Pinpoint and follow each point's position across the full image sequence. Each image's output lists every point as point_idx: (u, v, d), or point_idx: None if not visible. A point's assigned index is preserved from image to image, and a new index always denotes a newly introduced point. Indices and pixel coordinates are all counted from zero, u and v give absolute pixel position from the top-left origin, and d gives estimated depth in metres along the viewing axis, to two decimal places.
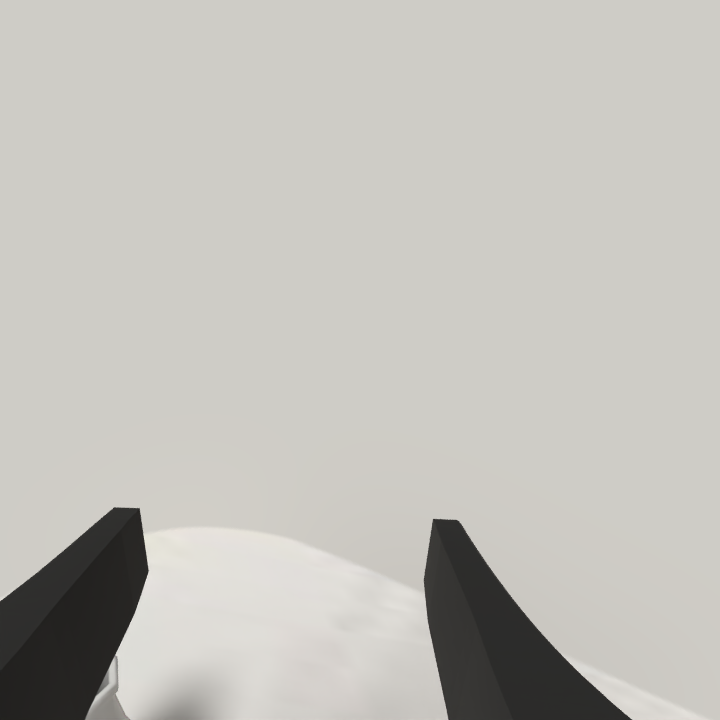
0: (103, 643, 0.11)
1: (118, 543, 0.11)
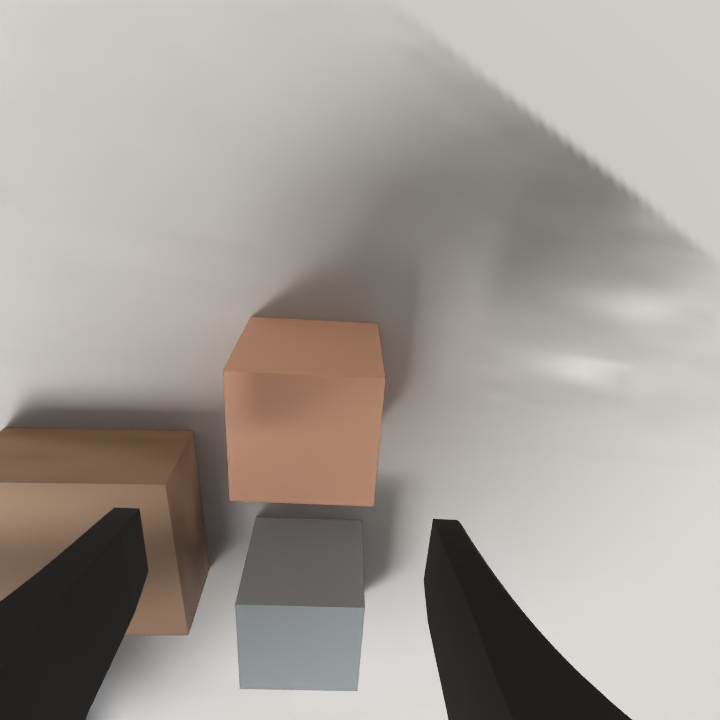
0: (103, 643, 0.11)
1: (118, 543, 0.11)
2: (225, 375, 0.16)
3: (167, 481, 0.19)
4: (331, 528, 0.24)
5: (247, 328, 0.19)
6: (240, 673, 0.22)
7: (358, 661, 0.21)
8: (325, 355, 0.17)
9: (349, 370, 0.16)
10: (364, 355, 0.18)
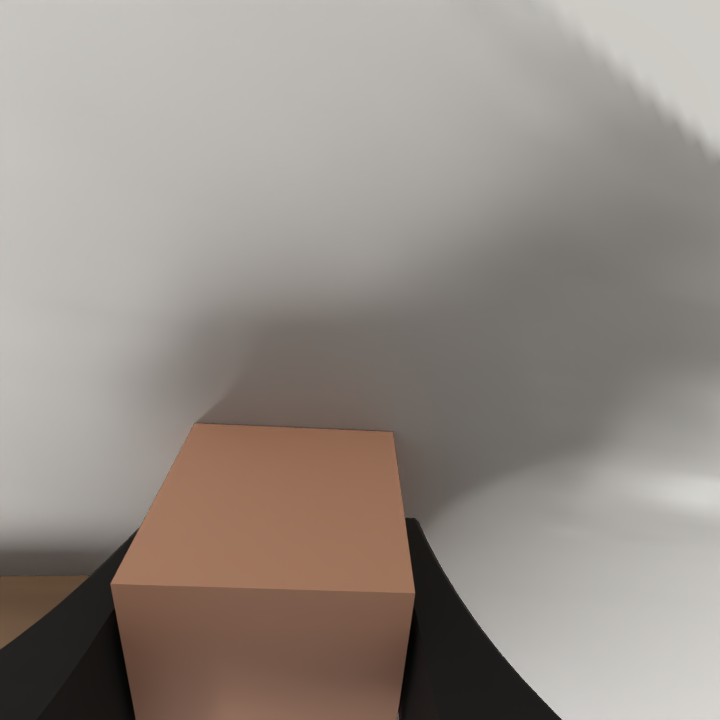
0: None
1: None
2: (116, 590, 0.09)
3: None
4: None
5: (182, 455, 0.12)
6: None
7: None
8: (306, 524, 0.10)
9: (348, 568, 0.09)
10: (374, 520, 0.10)
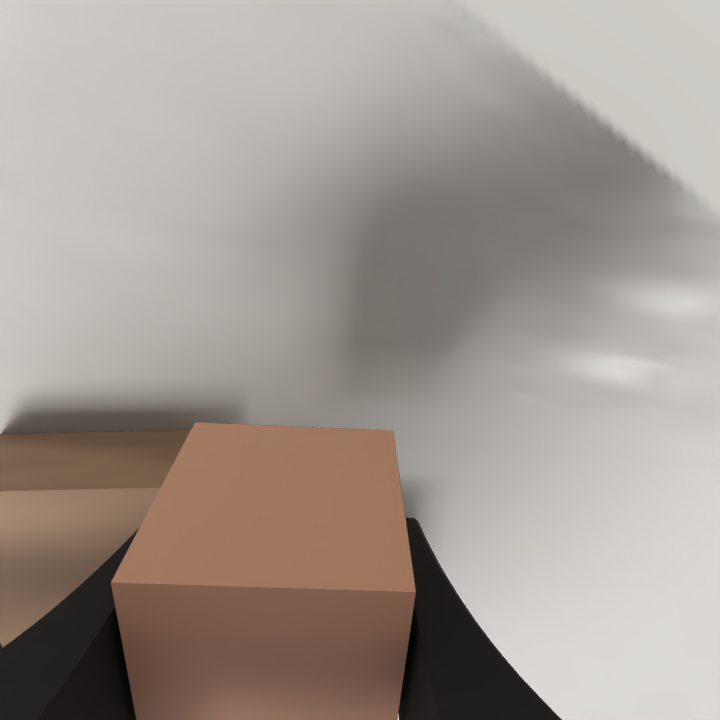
0: None
1: None
2: (117, 589, 0.09)
3: None
4: None
5: (182, 454, 0.12)
6: None
7: None
8: (306, 523, 0.10)
9: (348, 567, 0.09)
10: (375, 519, 0.10)
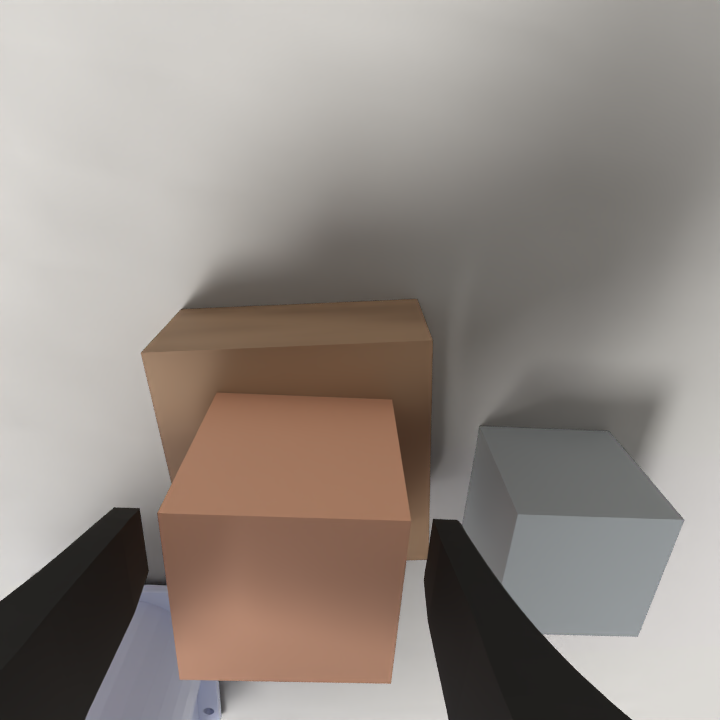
0: (103, 644, 0.11)
1: (118, 543, 0.11)
2: (162, 519, 0.10)
3: (431, 338, 0.14)
4: (578, 438, 0.19)
5: (207, 417, 0.13)
6: None
7: (651, 595, 0.17)
8: (318, 470, 0.12)
9: (355, 503, 0.11)
10: (376, 468, 0.12)
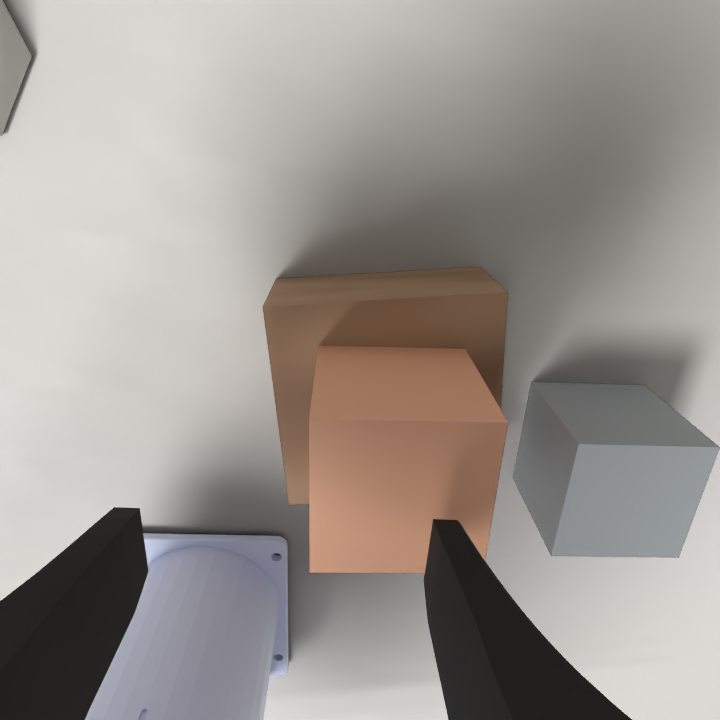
0: (103, 643, 0.11)
1: (118, 543, 0.11)
2: (311, 424, 0.13)
3: (505, 291, 0.17)
4: (619, 390, 0.22)
5: (319, 361, 0.16)
6: (557, 535, 0.19)
7: (691, 518, 0.19)
8: (423, 393, 0.14)
9: (459, 412, 0.13)
10: (469, 391, 0.15)
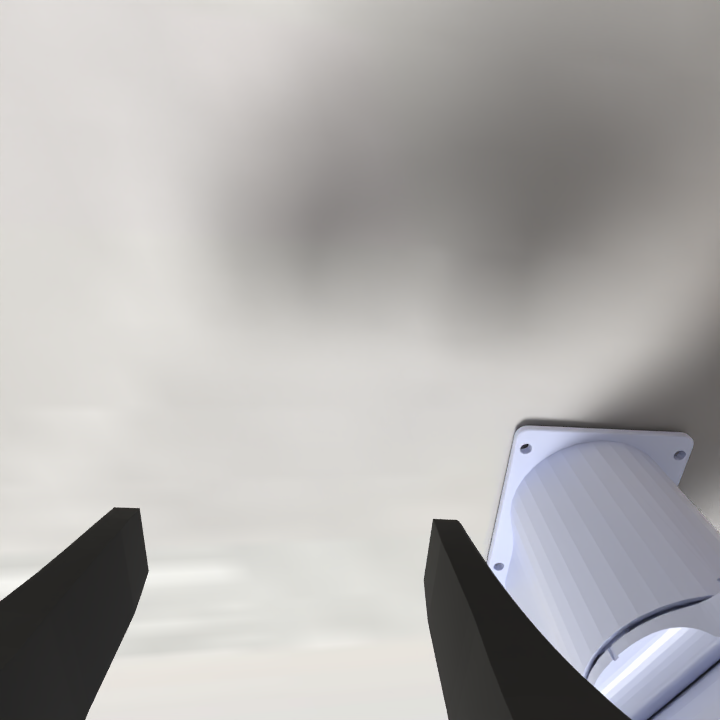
0: (103, 643, 0.11)
1: (118, 543, 0.11)
2: None
3: None
4: None
5: None
6: None
7: None
8: None
9: None
10: None
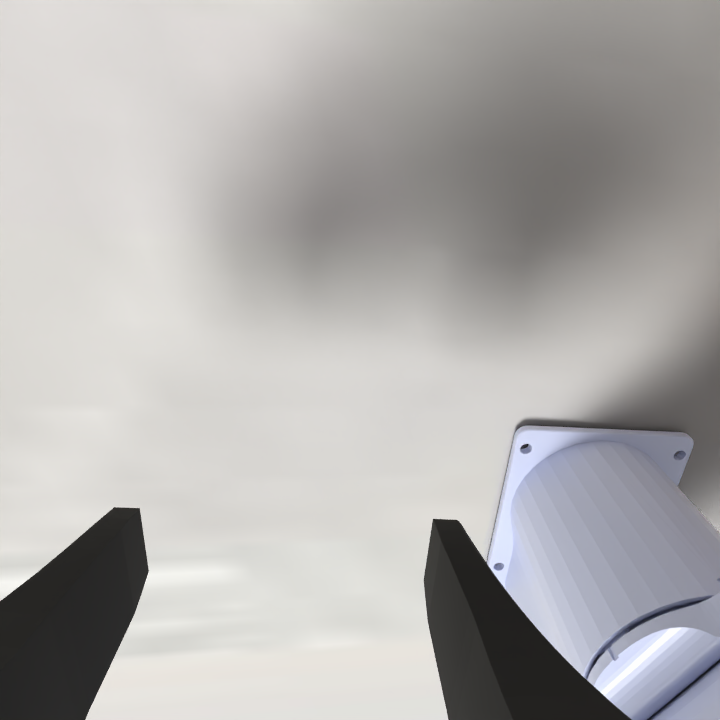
0: (103, 643, 0.11)
1: (118, 543, 0.11)
2: None
3: None
4: None
5: None
6: None
7: None
8: None
9: None
10: None
